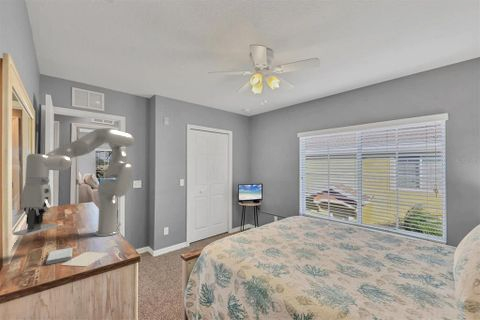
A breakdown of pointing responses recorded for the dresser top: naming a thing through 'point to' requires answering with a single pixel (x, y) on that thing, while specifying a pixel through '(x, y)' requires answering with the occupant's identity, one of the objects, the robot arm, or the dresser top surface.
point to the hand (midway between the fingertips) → (34, 223)
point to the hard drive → (59, 255)
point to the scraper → (34, 225)
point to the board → (85, 259)
